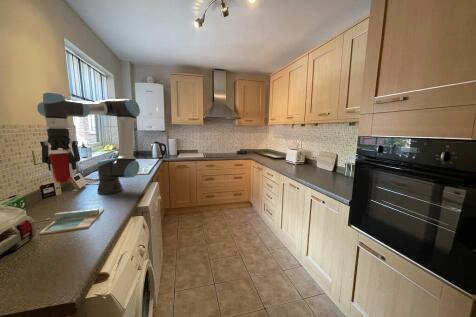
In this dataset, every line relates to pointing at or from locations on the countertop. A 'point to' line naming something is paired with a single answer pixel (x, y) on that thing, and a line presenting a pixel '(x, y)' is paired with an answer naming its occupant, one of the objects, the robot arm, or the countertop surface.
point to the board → (70, 224)
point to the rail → (76, 214)
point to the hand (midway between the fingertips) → (63, 176)
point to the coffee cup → (60, 165)
